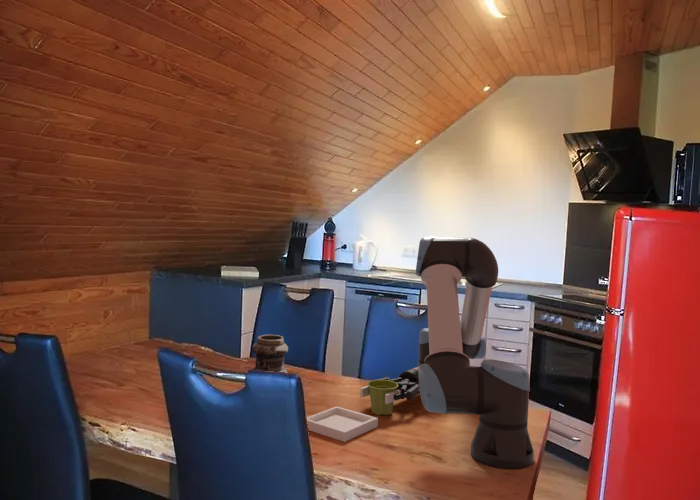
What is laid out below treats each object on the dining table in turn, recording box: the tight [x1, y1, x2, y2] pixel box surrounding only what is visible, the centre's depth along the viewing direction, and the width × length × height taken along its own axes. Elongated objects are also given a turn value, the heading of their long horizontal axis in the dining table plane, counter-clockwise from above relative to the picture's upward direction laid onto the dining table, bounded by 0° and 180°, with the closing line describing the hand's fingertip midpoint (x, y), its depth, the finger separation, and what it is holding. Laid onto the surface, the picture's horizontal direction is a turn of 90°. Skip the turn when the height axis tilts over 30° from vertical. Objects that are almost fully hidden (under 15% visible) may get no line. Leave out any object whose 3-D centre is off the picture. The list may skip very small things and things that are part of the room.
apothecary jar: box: [252, 334, 289, 373], centre depth 194 cm, size 12×12×18 cm
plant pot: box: [366, 379, 398, 416], centre depth 175 cm, size 9×9×9 cm
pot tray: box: [306, 405, 379, 443], centre depth 161 cm, size 15×15×2 cm
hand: (373, 396), depth 171 cm, fingers closed on plant pot, 8 cm apart
